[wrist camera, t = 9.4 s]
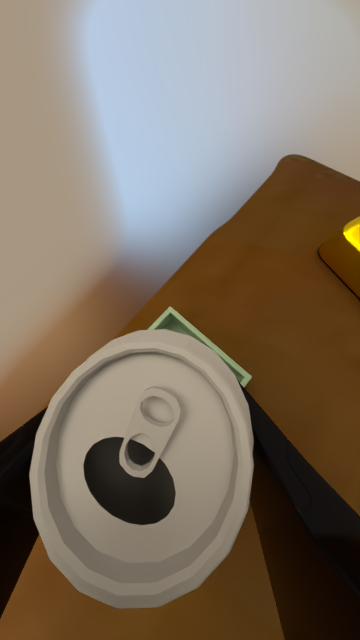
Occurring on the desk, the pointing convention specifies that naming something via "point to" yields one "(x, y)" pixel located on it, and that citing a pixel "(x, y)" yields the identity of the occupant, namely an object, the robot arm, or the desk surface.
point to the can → (143, 469)
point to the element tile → (344, 254)
